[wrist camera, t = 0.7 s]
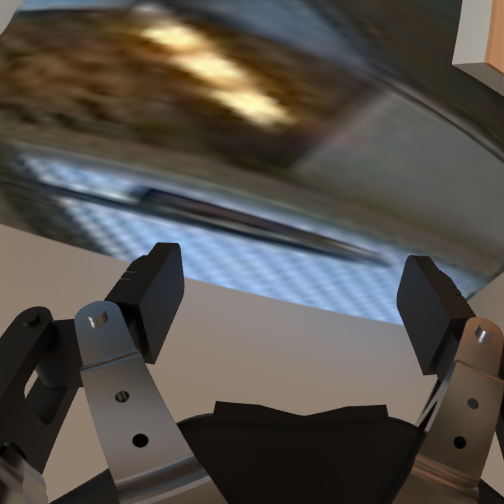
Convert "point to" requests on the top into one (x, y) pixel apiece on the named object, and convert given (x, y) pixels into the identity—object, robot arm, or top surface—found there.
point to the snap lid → (496, 38)
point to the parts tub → (476, 43)
